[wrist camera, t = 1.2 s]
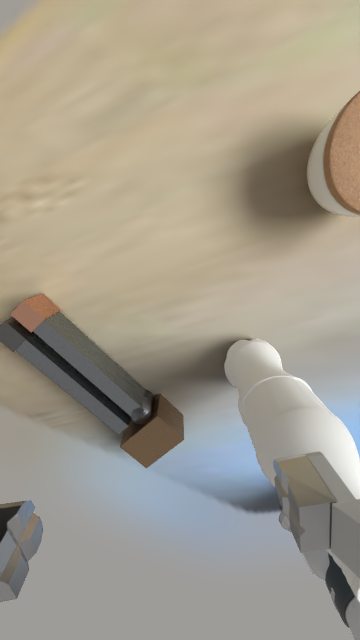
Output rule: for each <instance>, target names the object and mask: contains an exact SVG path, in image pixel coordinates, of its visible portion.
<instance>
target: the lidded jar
mask: <svg viewBox="0 0 360 640" xmlns="http://www.w3.org/2000/svg"><path fill="white" fill-rule="evenodd" d="M307 182H308V186H309V189H310V192H311V194H312V196H313V198H314V199H315V200H316V202H317V203H318V204H319V205H320V206H322V207H323V208H324V209H326V210H327V211H329V212H332V213H334V214H337V215H342V216H348V217H360V91H359V92H358V93H357V94H356V95H355V96H354V97H353V98H352V99H351V100H350V101H349V102H348V103H347V104H346V105H345V106H344V107H343V108H341V109H340V110H339V111H338V112H337V113H336V114H335V115H334V117H333V118H332V119H331V120H330V121H329V122H328V123H327V125H326V126H325V127H324V129H323V130H322V131H321V133H320V135H319V136H318V138H317V140H316V141H315V143H314V145H313V148H312V150H311V153H310V156H309V160H308V165H307Z"/></svg>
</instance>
